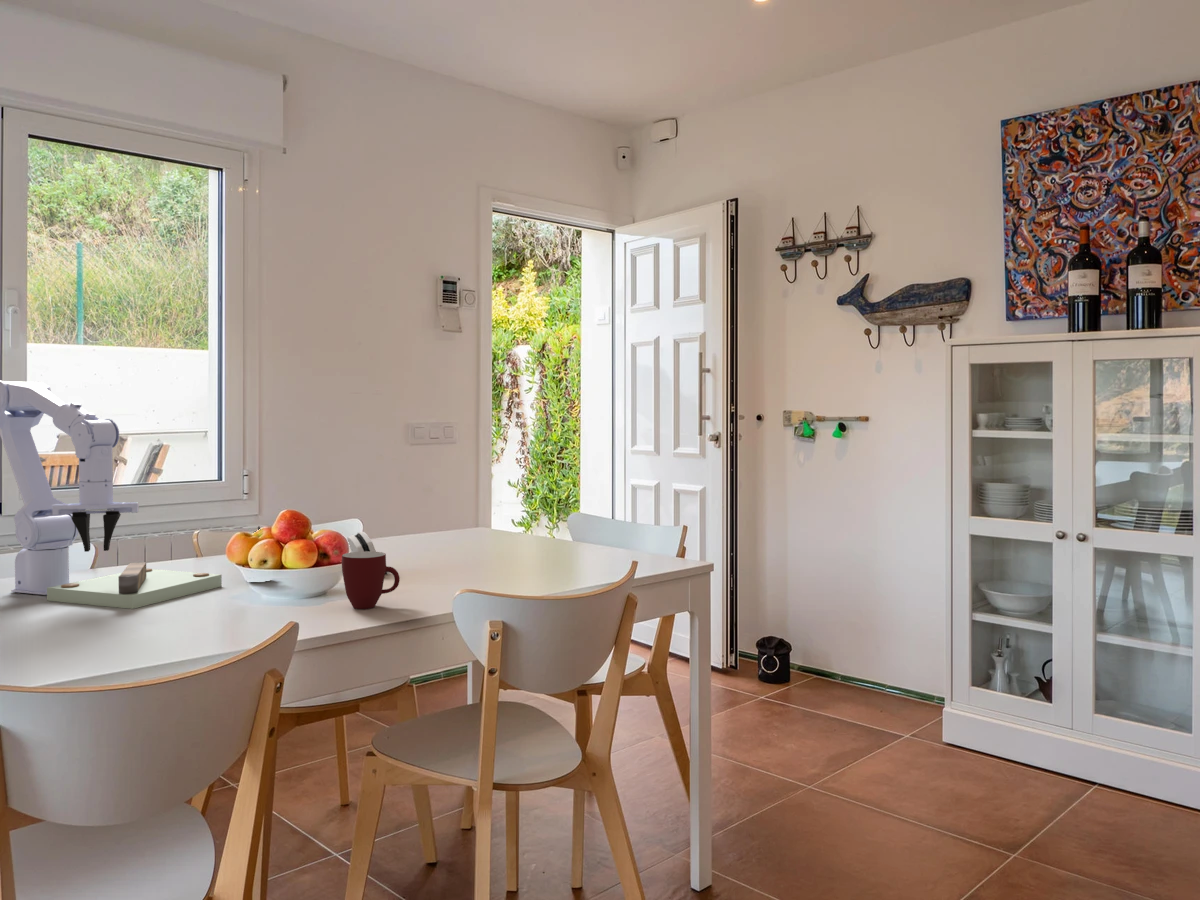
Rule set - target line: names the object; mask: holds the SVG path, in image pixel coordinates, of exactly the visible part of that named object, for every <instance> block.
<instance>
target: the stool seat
mask: <svg viewBox="0 0 1200 900" xmlns="http://www.w3.org/2000/svg"><path fill="white" fill-rule="evenodd" d="M121 574H122V572H117V573H113V574H109V575H103V576H99V577H92V578H87V579H83V580H78V581H73V582H69V583H68V584H63V585H58V586H53V587H48V588H47V595H46V601H48V602H56V603H57V602H58V603H69V604H70V603H71V604H79V605H88V606H89V605H90V606H99V607H111V608H120V609H129V610H130V609H131V610H134V609H137V608H141V607H145V606H149V605H153V604H157V603H162V602H165V601H168V600H173V599H178V598H181V597H184V596H188V595H193V594H197V593H201V592H204V591H208V590H213V589H217V588H220V587H222V584H223V583H222V581H223V580H222V579H223V578H222V576H223V575H222V574H220V573H219V574H217V573H209V572H194V571H182V570H181V571H180V570H169V569H157V568H156V569H155V568H146V578H145V580H144V581H143V583H142V585H141V586H140V588H139V590H138V592H135V593H128V594H121V593H119V576H120V575H121Z"/></svg>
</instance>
